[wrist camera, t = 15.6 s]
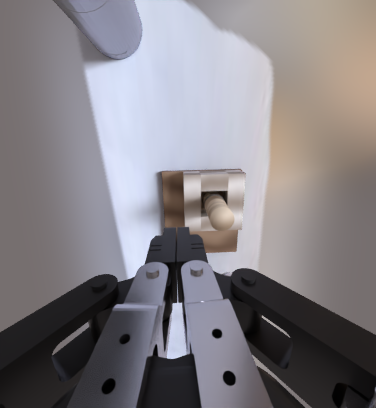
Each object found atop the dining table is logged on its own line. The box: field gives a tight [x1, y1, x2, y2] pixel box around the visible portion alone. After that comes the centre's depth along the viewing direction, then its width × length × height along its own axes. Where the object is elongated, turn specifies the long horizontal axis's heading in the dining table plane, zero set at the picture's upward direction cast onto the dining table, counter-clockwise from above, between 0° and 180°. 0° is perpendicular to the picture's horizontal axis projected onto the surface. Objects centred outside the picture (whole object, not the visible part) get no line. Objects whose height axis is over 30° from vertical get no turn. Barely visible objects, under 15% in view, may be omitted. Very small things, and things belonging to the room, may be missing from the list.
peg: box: [203, 191, 235, 231], centre depth 38 cm, size 4×4×12 cm
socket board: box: [162, 169, 246, 253], centre depth 43 cm, size 20×17×6 cm
